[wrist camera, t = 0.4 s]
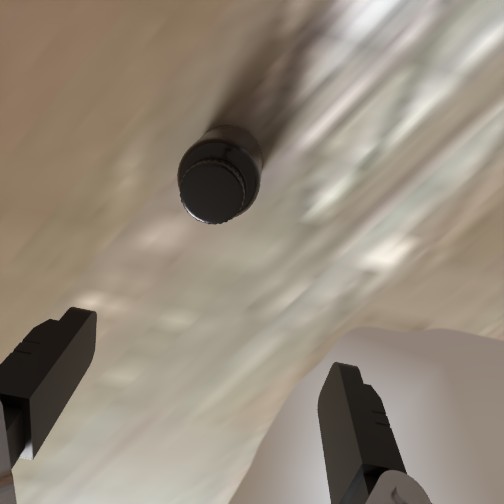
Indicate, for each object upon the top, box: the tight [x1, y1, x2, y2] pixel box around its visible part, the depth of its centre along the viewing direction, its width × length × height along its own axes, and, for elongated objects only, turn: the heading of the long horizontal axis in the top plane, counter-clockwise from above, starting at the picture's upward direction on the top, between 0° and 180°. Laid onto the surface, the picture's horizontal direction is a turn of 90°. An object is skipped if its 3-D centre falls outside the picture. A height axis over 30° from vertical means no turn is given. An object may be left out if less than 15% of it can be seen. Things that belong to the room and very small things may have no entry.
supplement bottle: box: [177, 125, 262, 224], centre depth 32 cm, size 7×7×12 cm
